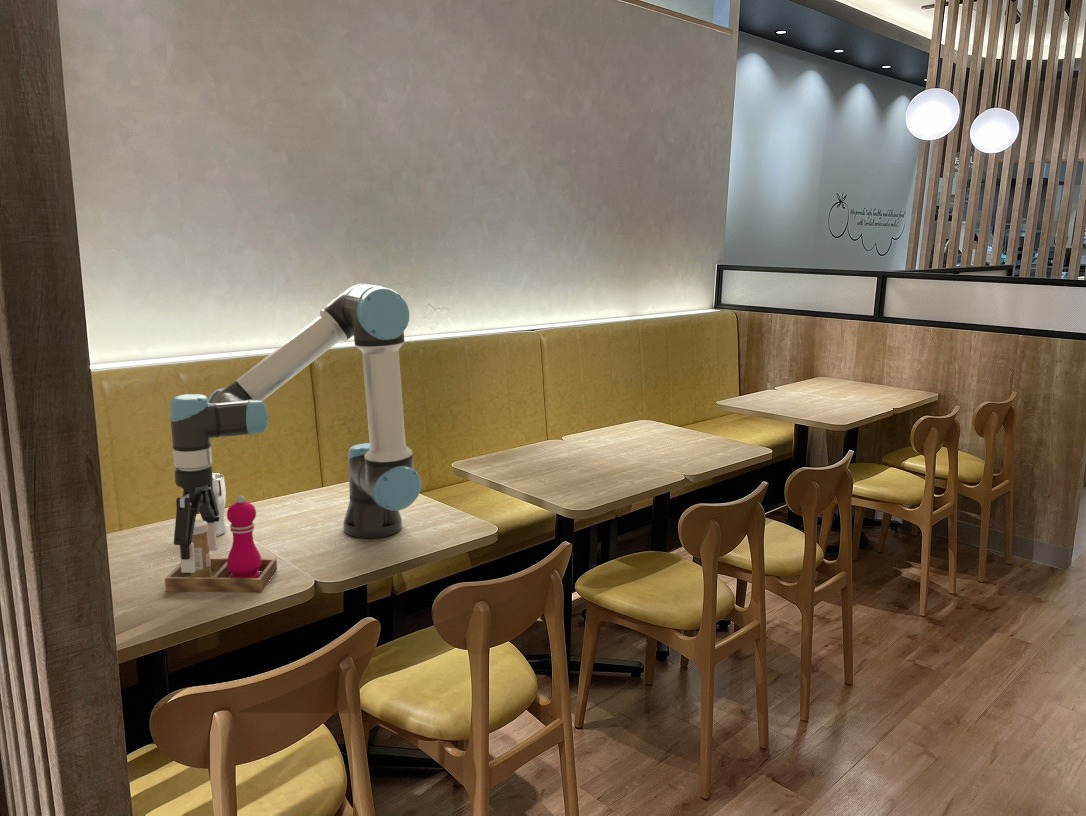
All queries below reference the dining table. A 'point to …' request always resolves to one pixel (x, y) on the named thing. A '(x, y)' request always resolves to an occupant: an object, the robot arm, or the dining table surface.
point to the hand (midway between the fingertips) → (199, 560)
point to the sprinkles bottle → (201, 550)
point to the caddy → (221, 579)
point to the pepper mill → (243, 541)
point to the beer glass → (219, 501)
